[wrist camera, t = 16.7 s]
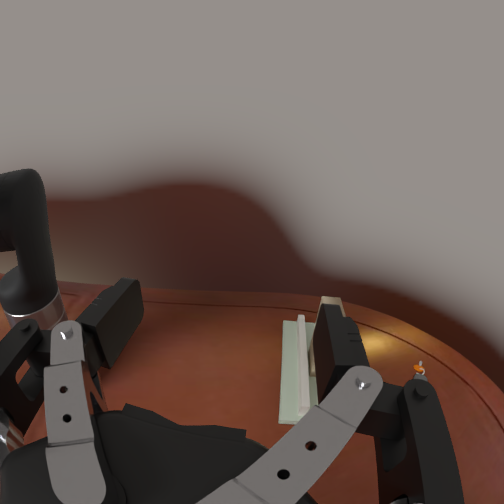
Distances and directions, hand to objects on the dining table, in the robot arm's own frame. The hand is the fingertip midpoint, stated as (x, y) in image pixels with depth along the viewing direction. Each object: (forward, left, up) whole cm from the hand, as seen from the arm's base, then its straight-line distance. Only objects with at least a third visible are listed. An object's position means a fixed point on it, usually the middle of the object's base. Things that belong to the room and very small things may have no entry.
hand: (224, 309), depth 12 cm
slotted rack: (0, +26, -28) cm, 39 cm away
